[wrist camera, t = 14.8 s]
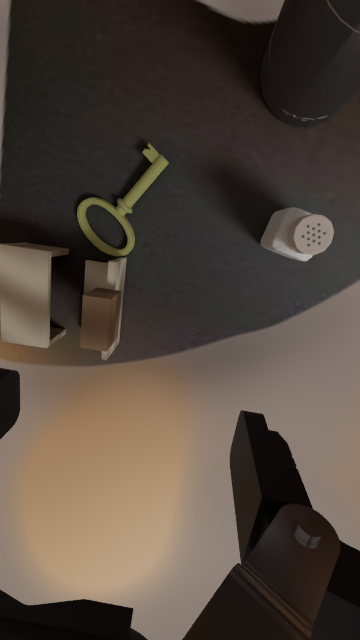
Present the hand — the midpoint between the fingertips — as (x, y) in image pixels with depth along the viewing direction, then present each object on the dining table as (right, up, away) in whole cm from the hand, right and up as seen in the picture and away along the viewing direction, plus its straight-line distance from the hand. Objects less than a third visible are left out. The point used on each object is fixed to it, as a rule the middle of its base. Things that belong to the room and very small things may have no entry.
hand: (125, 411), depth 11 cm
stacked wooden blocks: (-7, +6, +25) cm, 27 cm away
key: (-4, +16, +23) cm, 28 cm away
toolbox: (-14, +7, +26) cm, 30 cm away
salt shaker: (+13, +13, +23) cm, 29 cm away
